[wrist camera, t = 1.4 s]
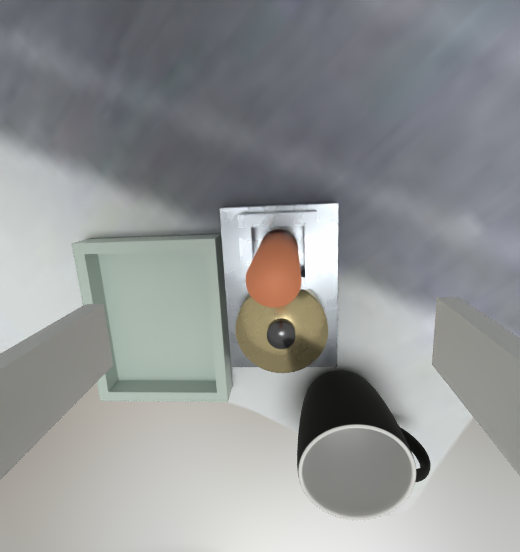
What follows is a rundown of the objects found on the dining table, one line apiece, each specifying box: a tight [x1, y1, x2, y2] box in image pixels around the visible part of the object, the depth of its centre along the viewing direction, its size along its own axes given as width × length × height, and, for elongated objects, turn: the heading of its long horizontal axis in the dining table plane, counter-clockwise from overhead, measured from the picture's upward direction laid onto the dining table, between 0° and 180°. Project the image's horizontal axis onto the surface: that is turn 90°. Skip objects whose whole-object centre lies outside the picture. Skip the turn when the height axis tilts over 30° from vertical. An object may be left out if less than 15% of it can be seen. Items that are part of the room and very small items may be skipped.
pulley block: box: [220, 202, 338, 373], centre depth 32 cm, size 15×10×6 cm, turn 3°
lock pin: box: [246, 229, 302, 308], centre depth 26 cm, size 3×3×11 cm
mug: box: [297, 371, 430, 520], centre depth 32 cm, size 12×9×10 cm
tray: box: [72, 234, 233, 402], centre depth 35 cm, size 16×13×3 cm
